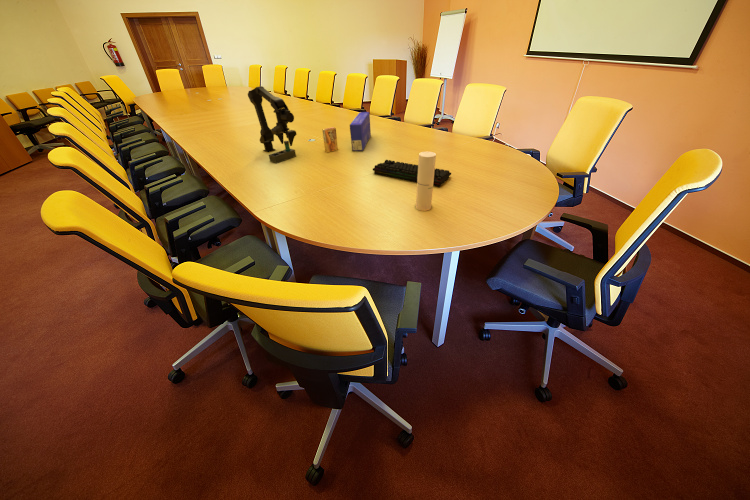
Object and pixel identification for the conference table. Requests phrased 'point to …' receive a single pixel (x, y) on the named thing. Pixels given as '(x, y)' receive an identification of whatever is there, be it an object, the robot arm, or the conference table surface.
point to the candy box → (330, 139)
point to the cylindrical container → (425, 180)
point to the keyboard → (408, 172)
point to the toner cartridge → (360, 131)
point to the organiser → (282, 156)
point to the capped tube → (287, 145)
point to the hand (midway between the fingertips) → (286, 144)
